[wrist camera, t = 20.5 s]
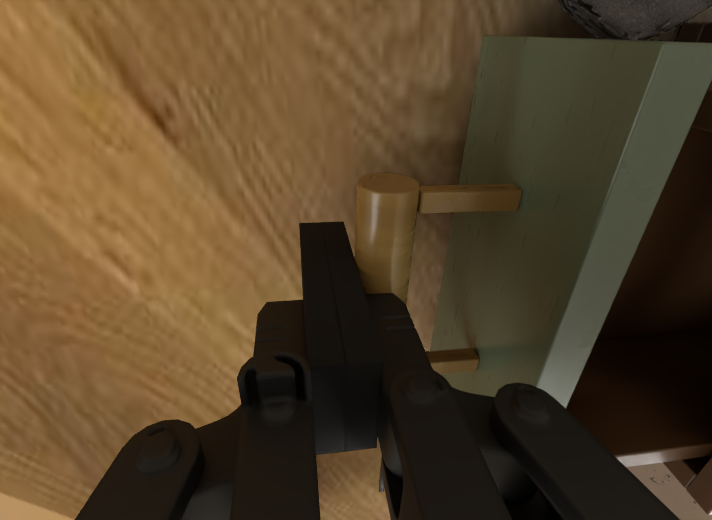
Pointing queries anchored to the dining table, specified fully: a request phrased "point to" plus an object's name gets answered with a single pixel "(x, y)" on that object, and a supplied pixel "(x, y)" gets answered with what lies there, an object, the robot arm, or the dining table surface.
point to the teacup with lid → (669, 491)
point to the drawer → (573, 238)
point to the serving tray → (631, 16)
